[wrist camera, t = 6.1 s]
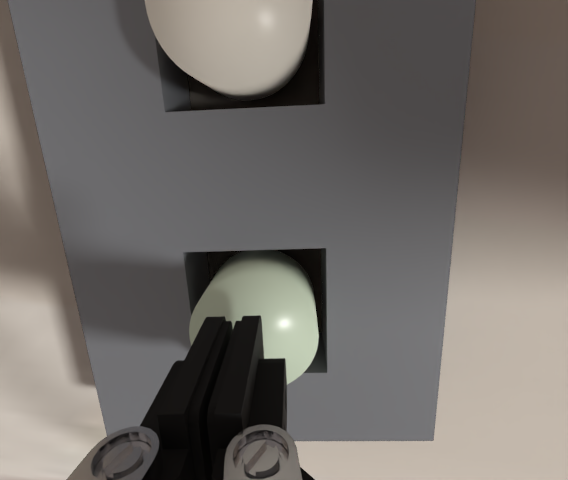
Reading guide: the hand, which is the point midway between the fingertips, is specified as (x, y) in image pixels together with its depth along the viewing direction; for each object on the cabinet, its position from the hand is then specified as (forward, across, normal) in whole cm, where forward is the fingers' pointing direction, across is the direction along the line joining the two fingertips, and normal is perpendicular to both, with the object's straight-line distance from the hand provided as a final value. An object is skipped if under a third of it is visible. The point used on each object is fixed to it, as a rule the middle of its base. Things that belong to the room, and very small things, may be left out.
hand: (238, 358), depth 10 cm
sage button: (+4, 0, 0) cm, 4 cm away
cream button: (+4, 0, -10) cm, 11 cm away
